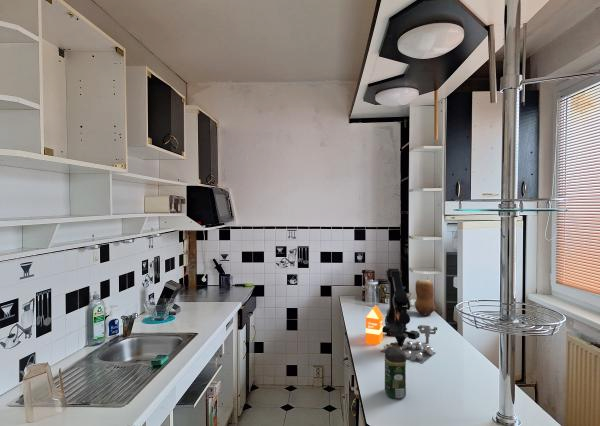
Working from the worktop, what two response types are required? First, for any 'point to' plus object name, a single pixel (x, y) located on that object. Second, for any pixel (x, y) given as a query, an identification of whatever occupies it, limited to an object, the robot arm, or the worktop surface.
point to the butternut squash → (424, 297)
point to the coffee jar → (395, 373)
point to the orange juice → (374, 327)
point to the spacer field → (426, 349)
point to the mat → (413, 354)
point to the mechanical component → (427, 331)
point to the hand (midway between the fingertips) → (400, 348)
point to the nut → (393, 344)
